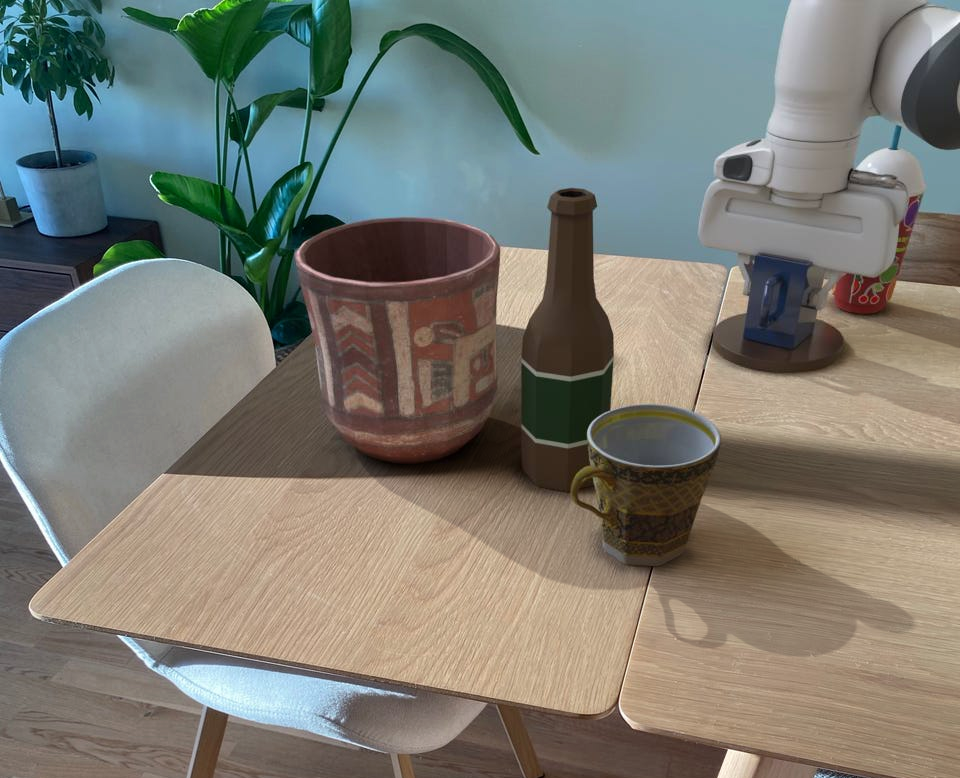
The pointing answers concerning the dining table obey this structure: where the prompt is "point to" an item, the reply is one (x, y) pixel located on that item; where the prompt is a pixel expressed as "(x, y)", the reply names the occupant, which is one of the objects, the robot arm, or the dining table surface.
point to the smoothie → (875, 292)
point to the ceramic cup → (648, 478)
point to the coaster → (777, 348)
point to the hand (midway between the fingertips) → (783, 301)
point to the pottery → (404, 332)
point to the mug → (781, 300)
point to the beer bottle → (565, 351)
